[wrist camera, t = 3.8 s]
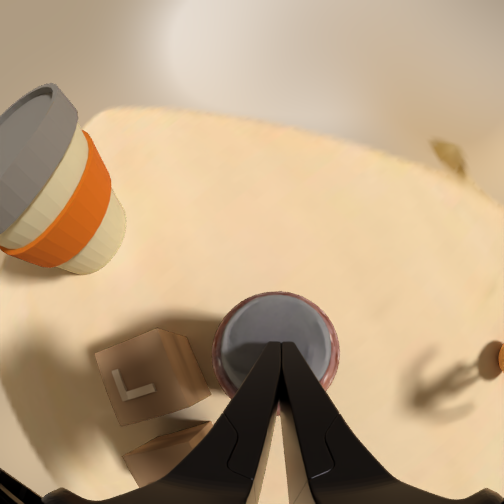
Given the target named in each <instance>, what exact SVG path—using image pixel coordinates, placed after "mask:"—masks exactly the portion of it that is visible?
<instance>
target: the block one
mask: <svg viewBox="0 0 504 504" xmlns="http://www.w3.org/2000/svg"><path fill="white" fill-rule="evenodd" d="M212 427H213V425H212V423H211V421H210V422H207V423H204V424H201V425H198V426H194V427H191V428H188V429H185V430H181V431H178V432H174V433H170V434H167V435H163V436H159V437H156V438H154V439H153V440H151V441H149V442H147V443H146V444H144V445H142V446H140V447H138V448H137V449H135V450H133V451H131V452H129V453H127V454H125V455H123V456H122V457H123V459H124V461H125V463H126V465H127V467H128V469H129V471H130V472H131V474H132V476H133V478H134V479H135V481H136V483H137V485H138V486H139V488H141V487H143V486H146V485H148V484H151V483H153V482H155V481H157V480H159V479H160V478H162V477H163V476H165V475H166V474H167V473H169V472H170V471H171V470H172V469H173V468H174V467H175V466H176V465H177V464H178V463H179V462H180V461H181V460H182V459H183V458H184V457H185V456H186V455H187V454H188V453H189V452H190V451H191V450H192V449H193V448H194V447H195V446H196V445H197V444H198V443H199V442H200V441H201V440H202V439H203V438H204V437H205V435H206V434H207V433H208V432H209V431H210V429H211V428H212Z"/></svg>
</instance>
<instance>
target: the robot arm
mask: <svg viewBox="0 0 504 504" xmlns="http://www.w3.org/2000/svg"><path fill="white" fill-rule="evenodd" d="M278 402H279V407H280V417H281V426H282V435H283V445H284V455H285V464H286V474H287V484H288V495H289V504H504V498H502V496H500V495H499V494H498V493H497V492H494V491H492V490H490V489H488V488H485V489H482V490H481V491H479V492H477V493H475V494H473V495H471V496H470V497H467V498H465V499H459V500H454V499H448V498H444V497H441V496H438V495H435V494H432V493H429V492H427V491H424V490H421V489H419V488H416V487H413V486H411V485H408V484H406V483H404V482H401V481H400V480H398V479H396V478H395V477H393V476H392V475H391V474H390V473H389V472H388V471H387V470H386V469H385V468H384V467H383V466H382V465H381V464H380V463H379V462H378V461H377V459H376V458H375V457H374V456H373V455H372V454H371V453H370V452H369V451H368V450H367V448H366V447H365V446H364V445H363V444H362V443H361V442H360V440H359V439H358V438H357V437H356V436H355V434H354V433H353V432H352V430H351V429H350V427H349V426H348V425H347V423H346V422H345V420H344V419H343V417H342V416H341V414H339V411H338V410H337V408H336V407H335V405H334V404H333V402H332V400H331V399H330V397H329V396H328V394H327V393H326V391H325V390H324V388H323V387H322V385H321V383H320V382H319V380H318V379H317V377H316V376H315V374H314V372H313V371H312V369H311V368H310V366H309V365H308V363H307V362H306V360H305V358H304V357H303V355H302V354H301V352H300V351H299V349H298V347H297V346H296V344H295V343H294V342H292V341H283V342H282V343H281V342H279V341H269V342H268V343H267V345H266V346H265V348H264V349H263V351H262V353H261V354H260V356H259V358H258V359H257V361H256V362H255V364H254V366H253V367H252V369H251V370H250V372H249V373H248V375H247V377H246V378H245V380H244V381H243V383H242V384H241V386H240V387H239V389H238V390H237V392H236V393H235V395H234V396H233V398H232V399H231V401H230V402H229V404H228V405H227V407H226V408H225V410H224V411H223V413H222V414H221V416H220V417H219V418H218V420H217V421H216V423H215V424H214V425H213V427H212V428H211V429H210V431H209V432H208V433H207V434H206V435H205V437H204V438H203V439H202V440H201V441H200V442H199V443H198V444H197V445H196V446H195V447H194V448H193V449H192V450H191V451H190V452H189V453H188V454H187V455H186V456H185V457H184V458H183V459H182V460H181V461H180V462H179V463H178V464H177V465H176V466H175V467H174V468H173V469H172V470H171V471H170V472H169V473H167V474H166V475H165V476H163V477H162V478H160V479H159V480H157V481H155V482H153V483H151V484H148V485H146V486H143V487H141V488H138V489H135V490H133V491H130V492H127V493H125V494H122V495H119V496H116V497H113V498H110V499H106V500H102V501H92V500H87V499H84V498H82V497H80V496H78V495H76V494H74V493H72V492H70V491H69V490H67V489H65V488H59V489H57V490H54V491H52V492H50V493H48V494H47V495H45V496H44V497H41V496H40V495H38V494H37V493H35V492H34V491H32V490H31V489H29V488H28V487H26V486H25V485H23V484H22V483H21V482H19V481H18V480H17V479H15V478H14V477H12V476H11V475H9V474H8V473H6V472H5V471H4V470H2V469H1V468H0V504H258V500H259V496H260V492H261V487H262V483H263V479H264V474H265V470H266V465H267V460H268V456H269V451H270V446H271V441H272V436H273V431H274V425H275V420H276V415H277V409H278Z"/></svg>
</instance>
